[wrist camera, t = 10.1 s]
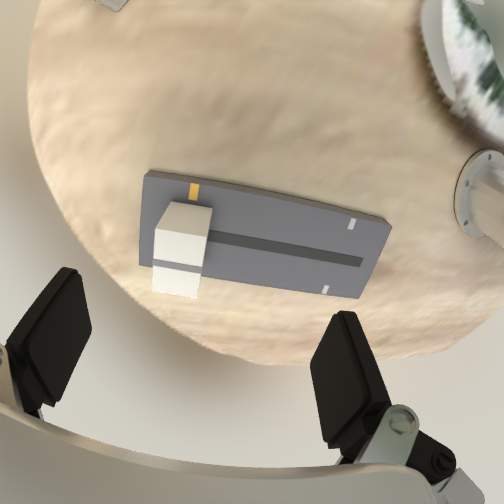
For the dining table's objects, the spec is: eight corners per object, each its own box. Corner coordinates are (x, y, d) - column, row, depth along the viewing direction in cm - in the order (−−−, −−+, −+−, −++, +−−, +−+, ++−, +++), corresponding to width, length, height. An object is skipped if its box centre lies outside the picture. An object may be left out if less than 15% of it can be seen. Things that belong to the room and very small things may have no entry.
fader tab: (213, 208, 27) (207, 237, 22) (204, 262, 30) (197, 299, 24) (170, 201, 26) (154, 228, 21) (165, 255, 29) (151, 291, 24)
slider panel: (384, 219, 31) (392, 227, 29) (353, 289, 35) (359, 299, 34) (149, 170, 27) (143, 176, 25) (143, 255, 32) (138, 265, 30)
